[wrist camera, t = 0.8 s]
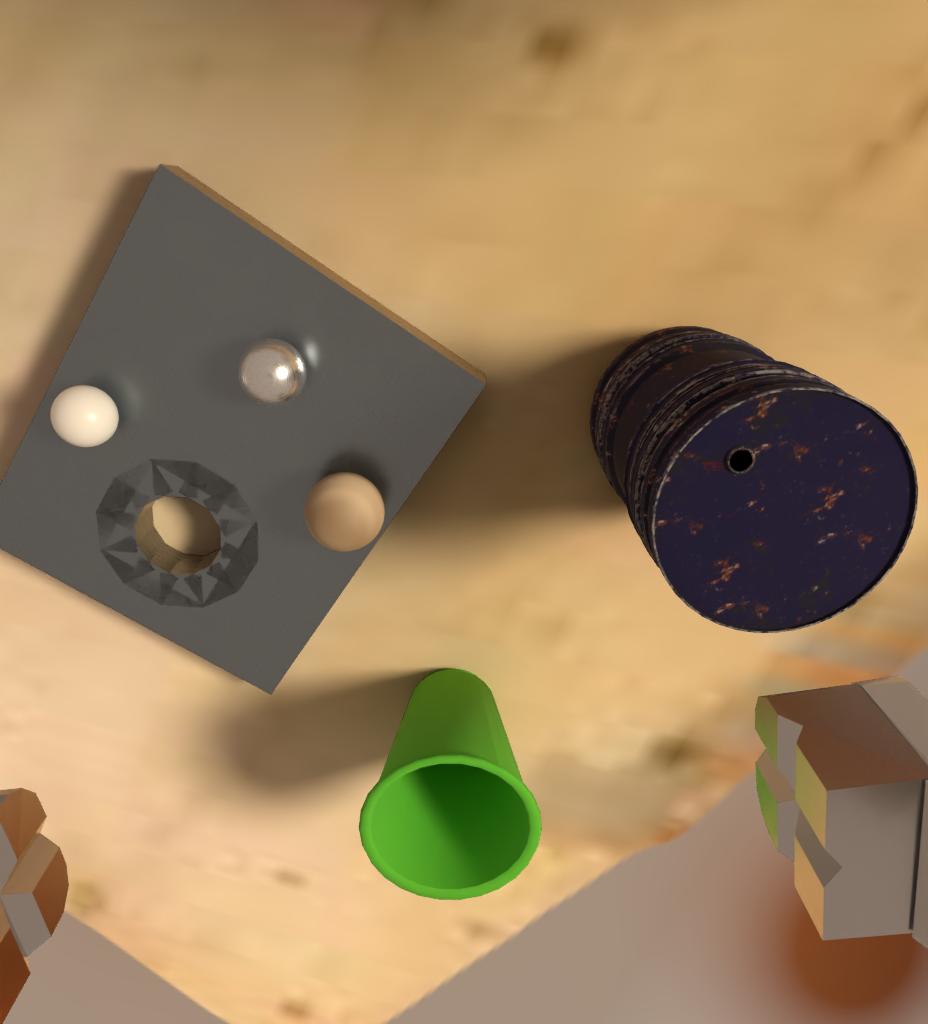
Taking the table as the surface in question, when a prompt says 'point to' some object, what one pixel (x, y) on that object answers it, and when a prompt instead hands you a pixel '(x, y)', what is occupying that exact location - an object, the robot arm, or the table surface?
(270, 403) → the steel ball
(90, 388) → the plastic ball
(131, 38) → the table surface
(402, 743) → the cup
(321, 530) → the wood ball
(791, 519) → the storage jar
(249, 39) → the table surface
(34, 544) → the plate
